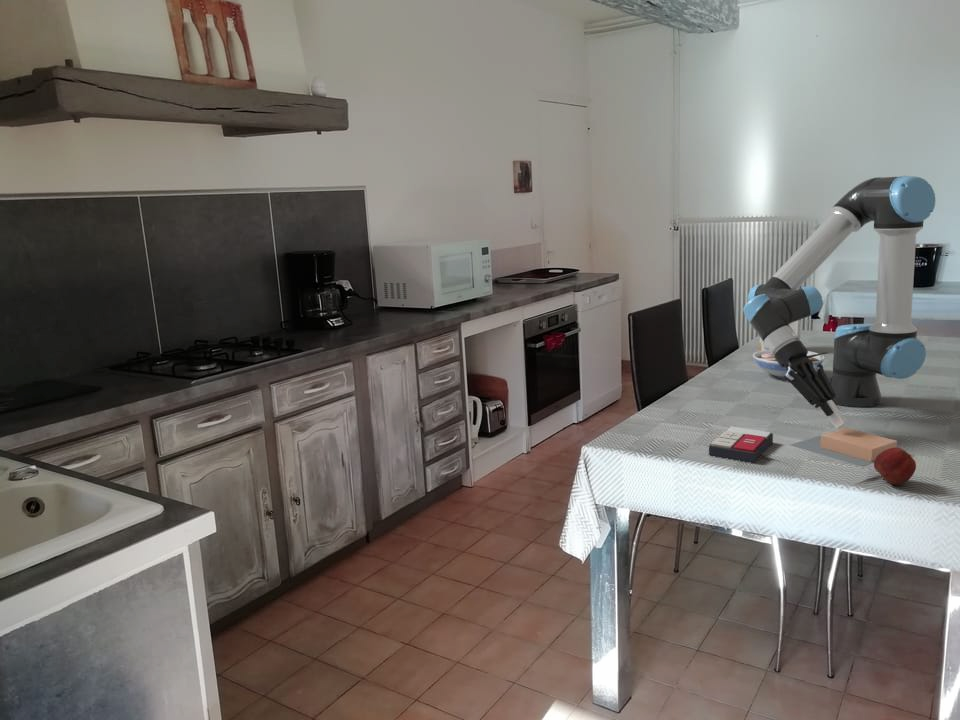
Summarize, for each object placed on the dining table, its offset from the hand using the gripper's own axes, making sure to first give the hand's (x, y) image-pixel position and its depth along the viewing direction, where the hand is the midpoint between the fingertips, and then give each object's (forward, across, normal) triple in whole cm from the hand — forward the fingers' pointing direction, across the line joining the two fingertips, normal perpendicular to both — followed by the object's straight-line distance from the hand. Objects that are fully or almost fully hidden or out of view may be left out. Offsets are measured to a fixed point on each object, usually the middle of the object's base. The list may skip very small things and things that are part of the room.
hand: (841, 425), depth 183 cm
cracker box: (-54, -84, -63) cm, 118 cm away
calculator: (-5, +20, -14) cm, 25 cm away
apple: (+18, +11, +10) cm, 24 cm away
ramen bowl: (-35, -53, -44) cm, 77 cm away
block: (+1, 0, -4) cm, 4 cm away
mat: (+5, 0, -3) cm, 6 cm away
